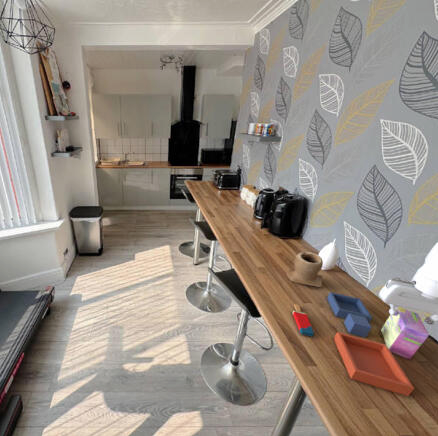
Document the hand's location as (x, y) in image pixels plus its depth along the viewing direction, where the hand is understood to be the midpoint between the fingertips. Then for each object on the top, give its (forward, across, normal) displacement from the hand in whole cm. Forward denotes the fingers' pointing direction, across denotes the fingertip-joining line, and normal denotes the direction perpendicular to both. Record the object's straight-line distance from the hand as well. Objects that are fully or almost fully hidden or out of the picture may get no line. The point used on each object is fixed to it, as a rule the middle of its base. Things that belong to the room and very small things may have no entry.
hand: (410, 318), depth 77 cm
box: (+12, 0, 0) cm, 12 cm away
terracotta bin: (+12, -12, -13) cm, 22 cm away
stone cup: (+12, -22, +27) cm, 37 cm away
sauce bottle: (+12, -10, +43) cm, 46 cm away
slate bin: (+12, -10, +12) cm, 20 cm away
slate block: (+12, -10, +2) cm, 16 cm away
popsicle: (+13, -28, 0) cm, 31 cm away
